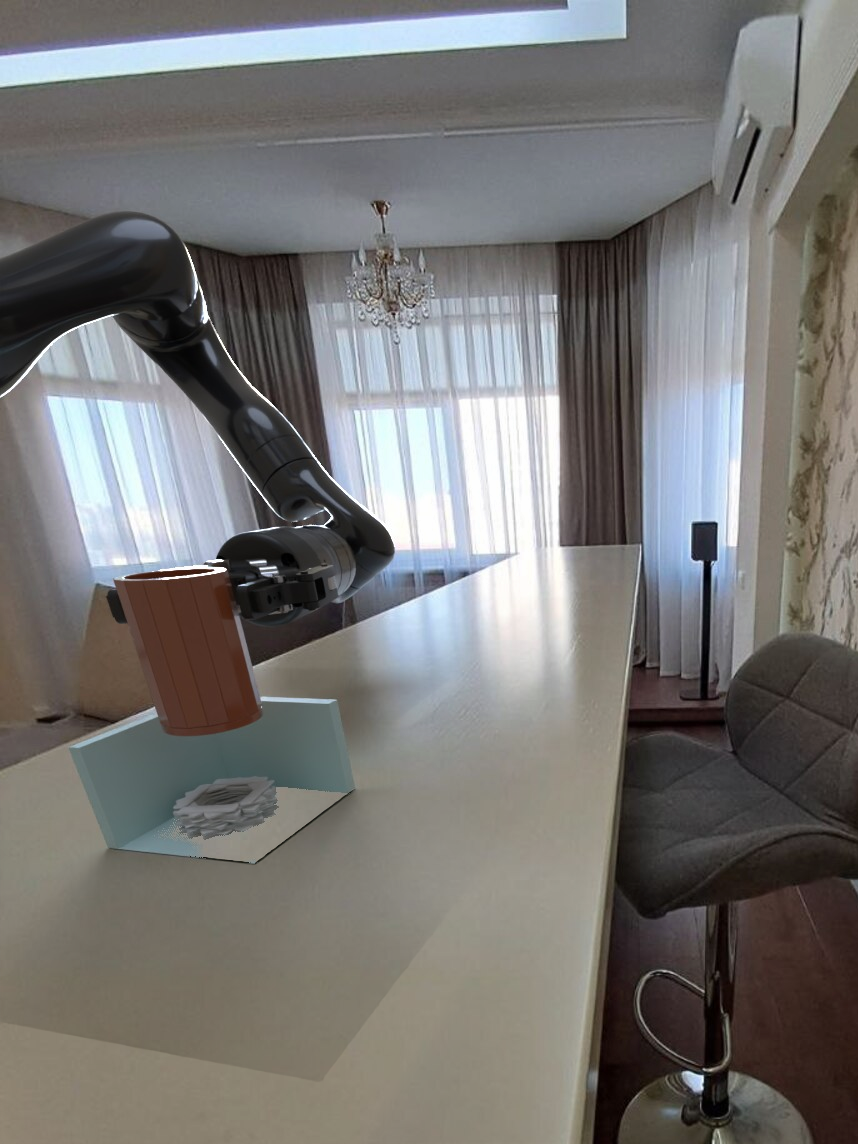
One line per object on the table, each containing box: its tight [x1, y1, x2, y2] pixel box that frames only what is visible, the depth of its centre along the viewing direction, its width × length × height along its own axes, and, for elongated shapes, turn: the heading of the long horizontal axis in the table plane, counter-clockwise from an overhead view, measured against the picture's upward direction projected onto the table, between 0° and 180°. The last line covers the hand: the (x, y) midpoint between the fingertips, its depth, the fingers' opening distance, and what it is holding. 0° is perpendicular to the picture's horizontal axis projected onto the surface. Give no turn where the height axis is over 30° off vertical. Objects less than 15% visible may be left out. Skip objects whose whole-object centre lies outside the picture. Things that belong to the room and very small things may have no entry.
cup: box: [112, 567, 263, 736], centre depth 46 cm, size 6×6×10 cm
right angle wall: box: [67, 695, 356, 865], centre depth 50 cm, size 12×12×8 cm
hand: (180, 605), depth 45 cm, fingers open, 8 cm apart
